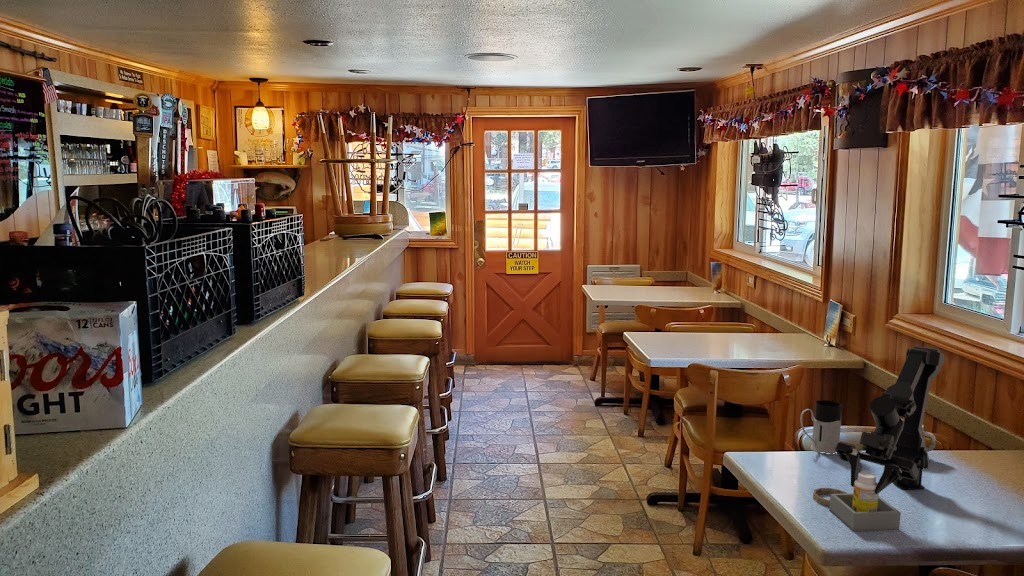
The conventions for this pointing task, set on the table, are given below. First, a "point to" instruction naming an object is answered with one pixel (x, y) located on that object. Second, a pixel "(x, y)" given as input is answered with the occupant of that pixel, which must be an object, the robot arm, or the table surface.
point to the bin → (864, 514)
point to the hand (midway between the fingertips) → (863, 489)
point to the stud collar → (825, 491)
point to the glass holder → (825, 426)
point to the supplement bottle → (865, 493)
